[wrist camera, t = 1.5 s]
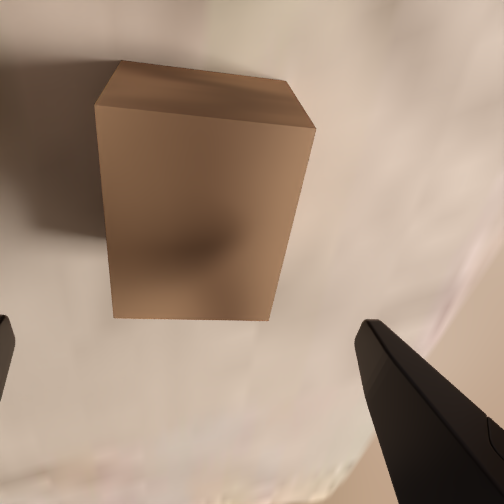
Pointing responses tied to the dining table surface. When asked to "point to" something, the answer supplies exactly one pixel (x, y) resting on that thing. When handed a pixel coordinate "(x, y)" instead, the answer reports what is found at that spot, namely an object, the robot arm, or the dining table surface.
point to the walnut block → (198, 189)
